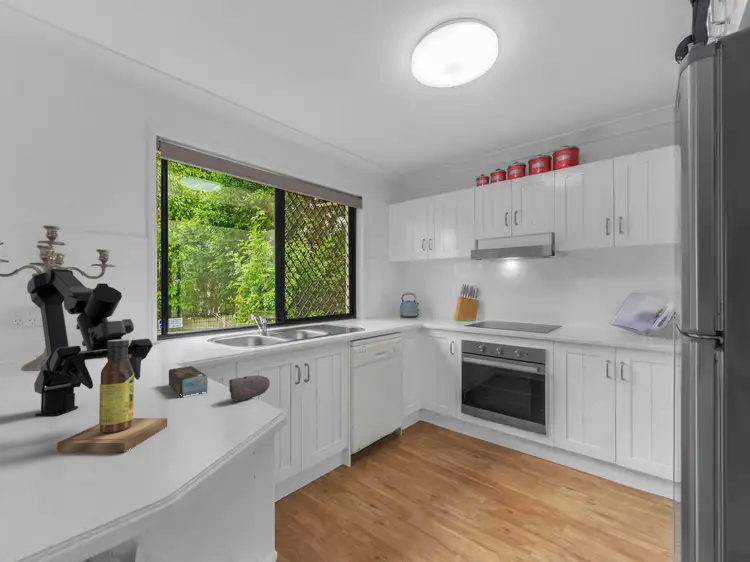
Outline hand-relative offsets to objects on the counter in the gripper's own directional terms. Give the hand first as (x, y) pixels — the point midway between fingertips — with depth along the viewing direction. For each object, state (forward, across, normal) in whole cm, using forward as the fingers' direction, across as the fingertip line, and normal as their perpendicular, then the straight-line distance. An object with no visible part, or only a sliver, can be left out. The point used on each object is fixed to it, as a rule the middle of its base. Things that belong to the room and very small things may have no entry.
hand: (116, 382), depth 79 cm
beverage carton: (-8, +31, +27) cm, 42 cm away
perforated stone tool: (+10, +36, +8) cm, 38 cm away
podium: (+10, 0, +8) cm, 12 cm away
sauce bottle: (+8, 0, +7) cm, 10 cm away
